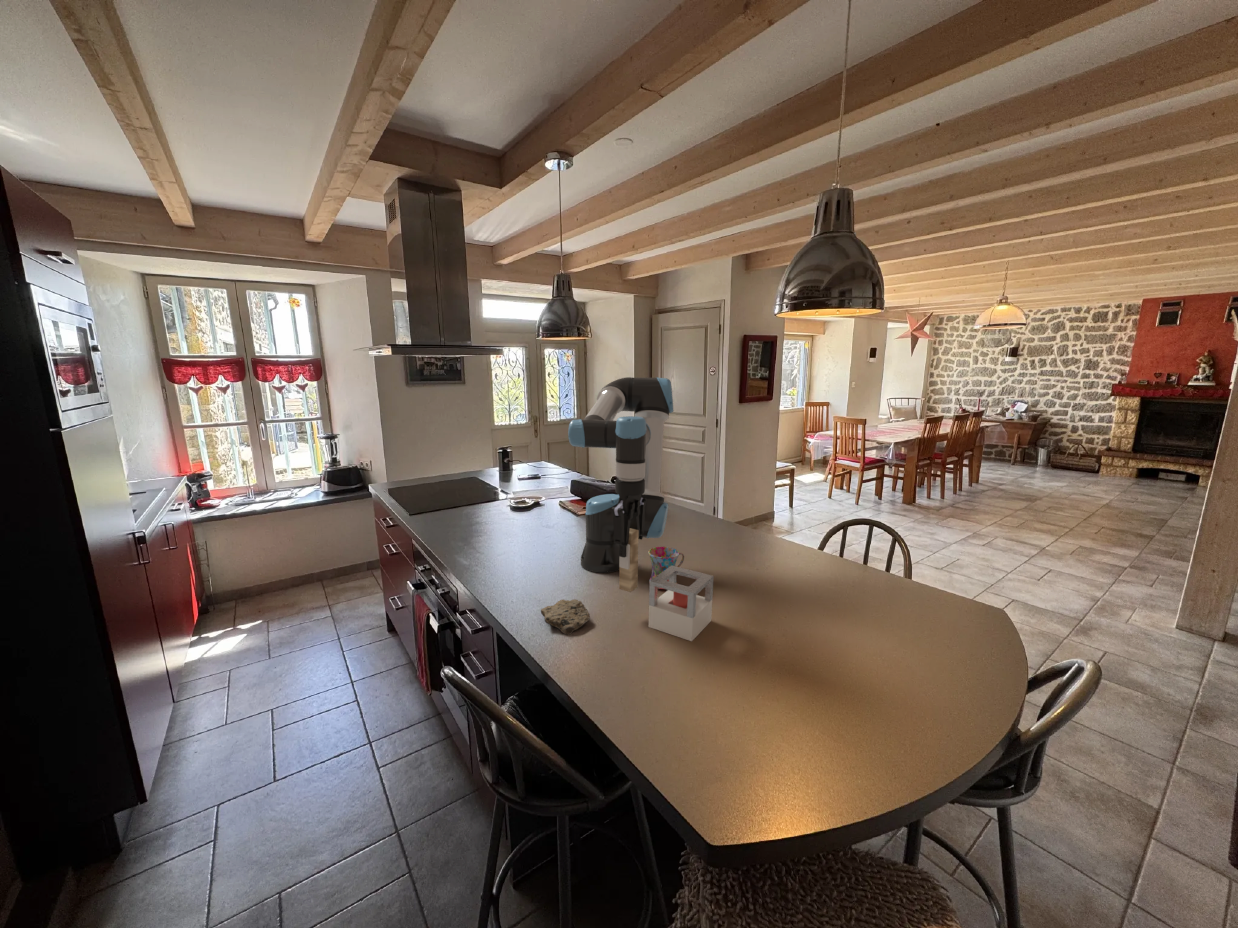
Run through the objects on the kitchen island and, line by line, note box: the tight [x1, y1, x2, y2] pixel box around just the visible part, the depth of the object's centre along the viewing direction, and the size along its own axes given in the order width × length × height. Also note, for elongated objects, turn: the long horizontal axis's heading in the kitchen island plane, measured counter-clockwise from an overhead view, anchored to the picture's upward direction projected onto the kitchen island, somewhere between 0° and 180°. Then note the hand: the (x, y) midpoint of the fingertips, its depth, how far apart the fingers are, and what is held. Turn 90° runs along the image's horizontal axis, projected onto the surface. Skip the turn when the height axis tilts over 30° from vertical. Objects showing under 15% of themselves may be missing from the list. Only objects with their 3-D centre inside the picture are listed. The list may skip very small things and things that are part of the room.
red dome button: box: [673, 592, 688, 609], centre depth 126 cm, size 4×4×8 cm
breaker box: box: [648, 590, 713, 642], centre depth 126 cm, size 12×12×6 cm
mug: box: [647, 546, 685, 590], centre depth 149 cm, size 12×9×11 cm
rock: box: [540, 598, 591, 636], centre depth 127 cm, size 11×12×4 cm
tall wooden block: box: [618, 528, 639, 593], centre depth 129 cm, size 4×4×16 cm
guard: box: [648, 565, 714, 618], centre depth 125 cm, size 12×12×6 cm
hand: (628, 564), depth 129 cm, fingers closed on tall wooden block, 3 cm apart
